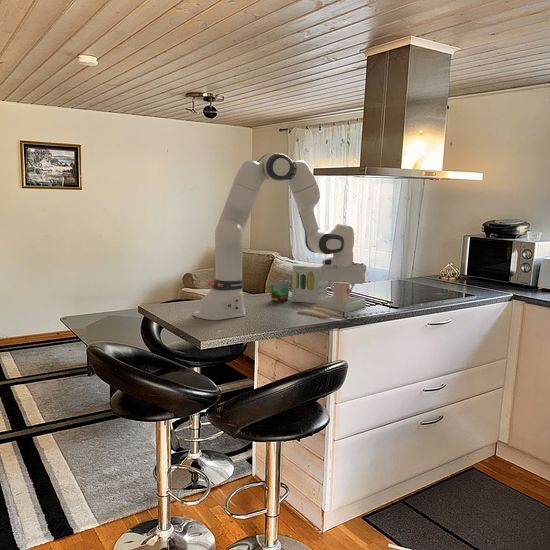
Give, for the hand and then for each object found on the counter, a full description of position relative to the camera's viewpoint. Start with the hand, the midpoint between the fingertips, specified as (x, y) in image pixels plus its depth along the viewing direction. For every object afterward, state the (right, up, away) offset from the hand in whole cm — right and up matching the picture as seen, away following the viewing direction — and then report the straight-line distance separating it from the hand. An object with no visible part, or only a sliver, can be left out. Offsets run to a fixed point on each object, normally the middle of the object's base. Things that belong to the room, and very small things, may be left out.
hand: (341, 292), depth 224 cm
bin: (0, -7, +1) cm, 7 cm away
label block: (0, -4, +1) cm, 4 cm away
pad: (-10, -9, -11) cm, 17 cm away
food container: (-26, -5, +14) cm, 30 cm away
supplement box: (-13, -5, +15) cm, 20 cm away
